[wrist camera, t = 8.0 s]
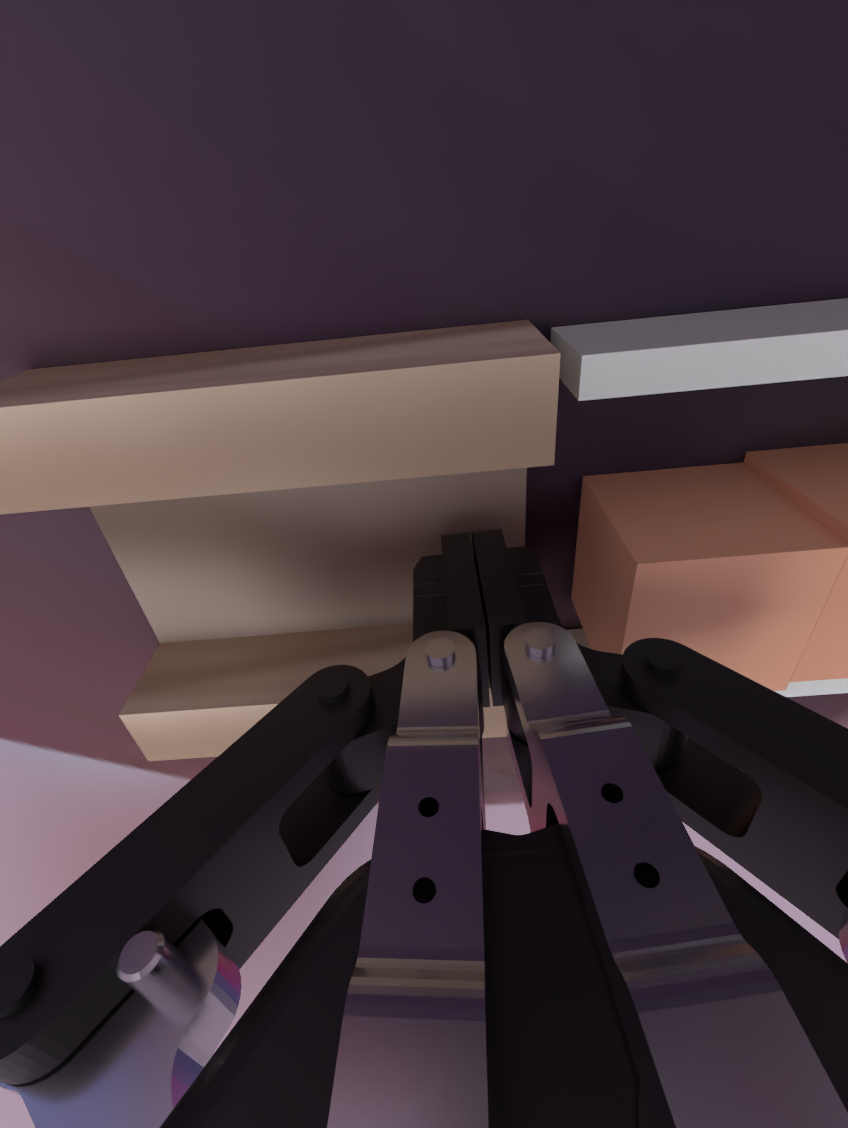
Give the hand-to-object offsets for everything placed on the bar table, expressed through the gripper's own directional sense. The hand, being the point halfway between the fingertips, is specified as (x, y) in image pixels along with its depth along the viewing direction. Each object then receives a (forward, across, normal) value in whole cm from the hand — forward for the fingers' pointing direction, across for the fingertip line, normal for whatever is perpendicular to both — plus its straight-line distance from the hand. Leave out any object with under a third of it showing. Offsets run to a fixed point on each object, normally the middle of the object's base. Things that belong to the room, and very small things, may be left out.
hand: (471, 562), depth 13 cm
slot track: (+1, +4, 0) cm, 4 cm away
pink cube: (+1, -5, +1) cm, 5 cm away
